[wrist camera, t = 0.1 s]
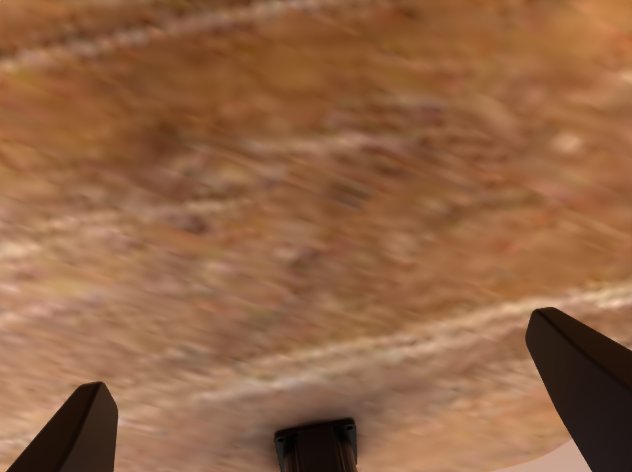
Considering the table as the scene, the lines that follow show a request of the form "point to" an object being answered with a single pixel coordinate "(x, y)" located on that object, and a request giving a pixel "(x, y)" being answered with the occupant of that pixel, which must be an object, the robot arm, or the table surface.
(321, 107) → the table surface
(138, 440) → the table surface
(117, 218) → the table surface
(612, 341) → the robot arm
